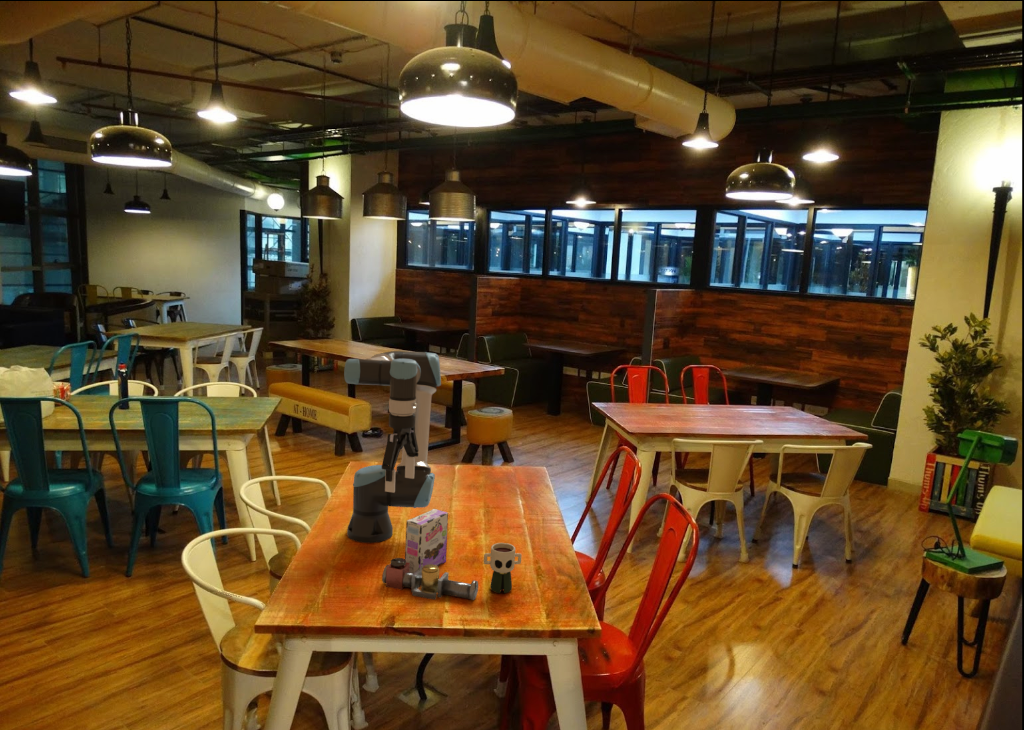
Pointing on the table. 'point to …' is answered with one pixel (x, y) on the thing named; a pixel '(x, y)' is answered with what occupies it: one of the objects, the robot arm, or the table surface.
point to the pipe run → (400, 577)
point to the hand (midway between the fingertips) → (400, 484)
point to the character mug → (502, 566)
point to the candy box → (426, 539)
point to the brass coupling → (430, 578)
